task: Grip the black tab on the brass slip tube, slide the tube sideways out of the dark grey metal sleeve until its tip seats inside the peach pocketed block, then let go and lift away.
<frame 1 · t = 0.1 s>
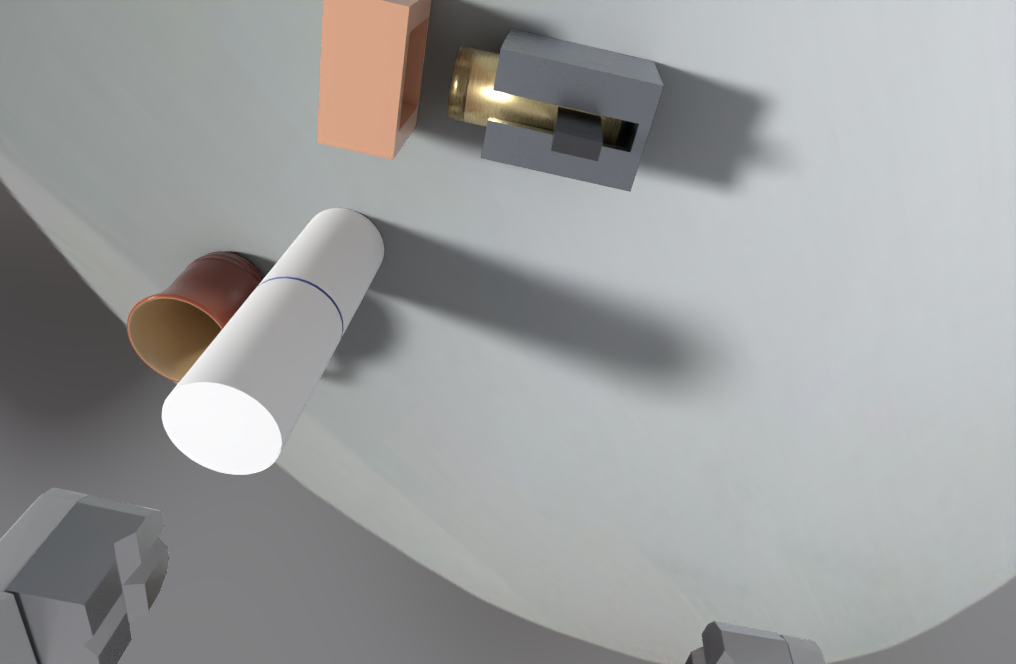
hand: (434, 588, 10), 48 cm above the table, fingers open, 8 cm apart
sleeve: (565, 94, 53), on the table
cylindrical container: (345, 244, 62), on the table
slip tube: (534, 112, 47), point 7 cm above the table, slide at 0.0 cm
mug: (237, 295, 66), on the table
peach pocketed block: (389, 54, 52), on the table
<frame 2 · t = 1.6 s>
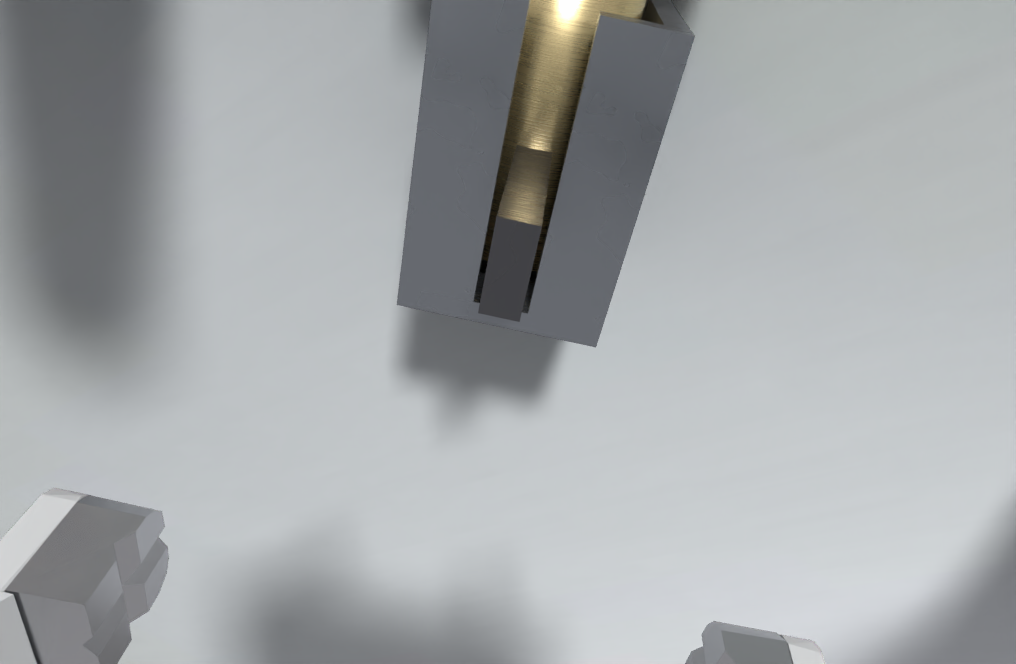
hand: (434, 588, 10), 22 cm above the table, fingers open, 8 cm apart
sleeve: (542, 112, 28), on the table
slip tube: (543, 106, 21), point 7 cm above the table, slide at 0.0 cm
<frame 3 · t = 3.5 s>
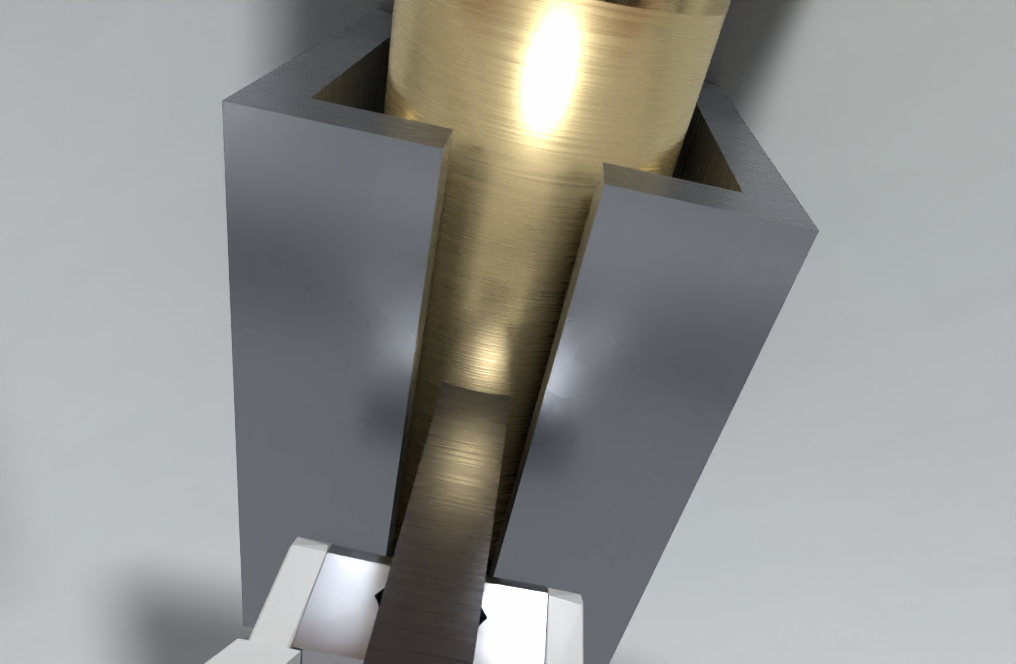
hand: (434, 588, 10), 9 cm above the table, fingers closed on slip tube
sleeve: (505, 255, 17), on the table
slip tube: (489, 332, 11), point 7 cm above the table, slide at 0.0 cm, touching gripper
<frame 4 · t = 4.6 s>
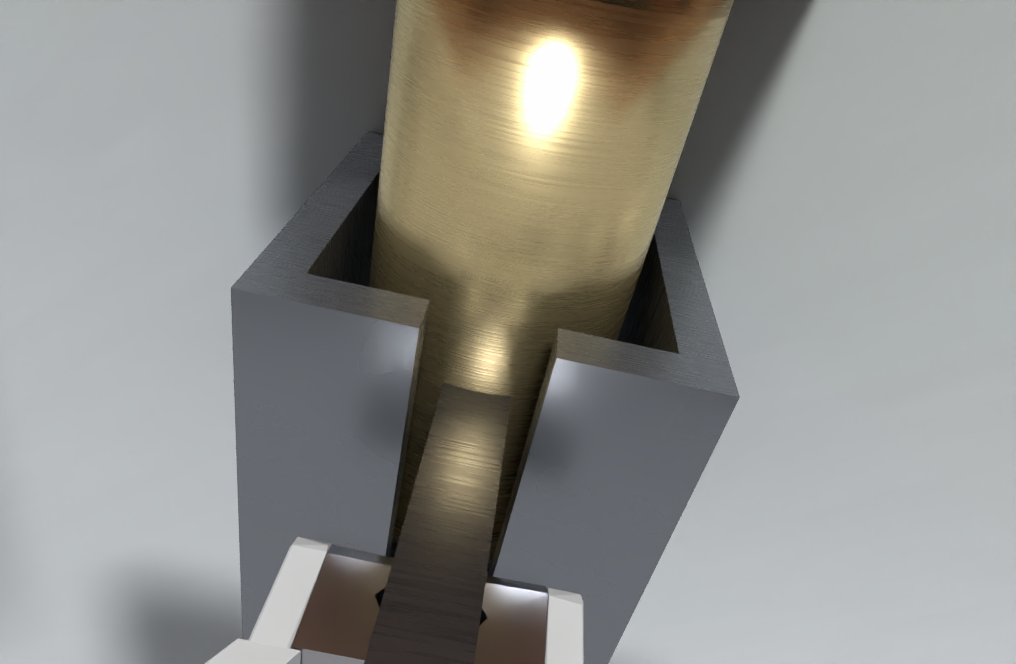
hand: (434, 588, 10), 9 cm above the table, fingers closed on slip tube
sleeve: (487, 340, 19), on the table
slip tube: (489, 333, 11), point 7 cm above the table, slide at 2.7 cm, touching gripper
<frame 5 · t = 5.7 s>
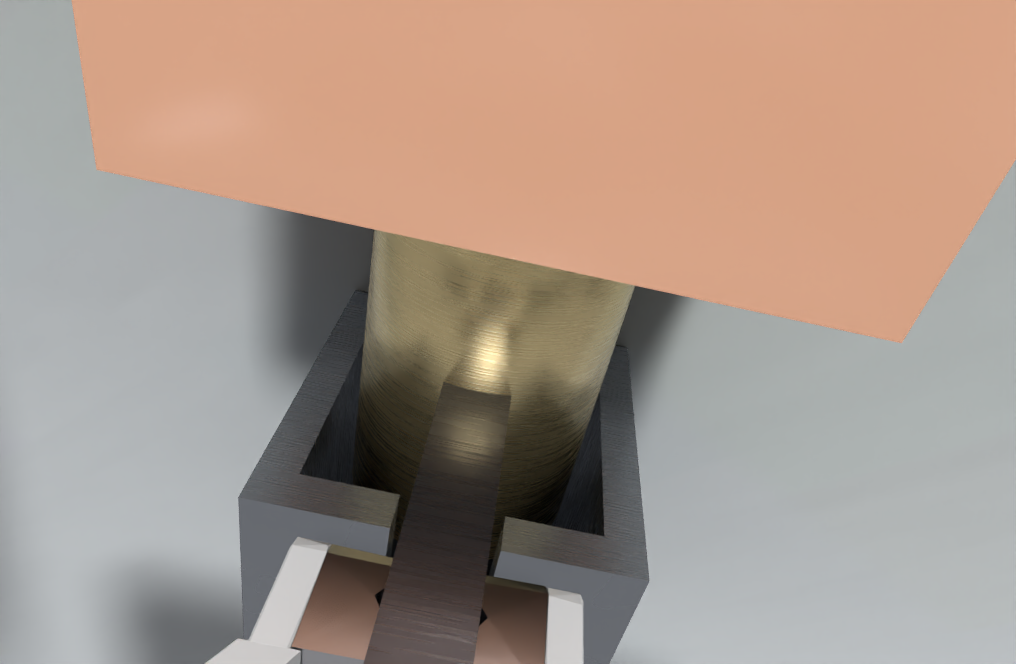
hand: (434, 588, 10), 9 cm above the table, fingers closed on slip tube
sleeve: (463, 454, 21), on the table
slip tube: (489, 332, 11), point 7 cm above the table, slide at 7.0 cm, touching gripper
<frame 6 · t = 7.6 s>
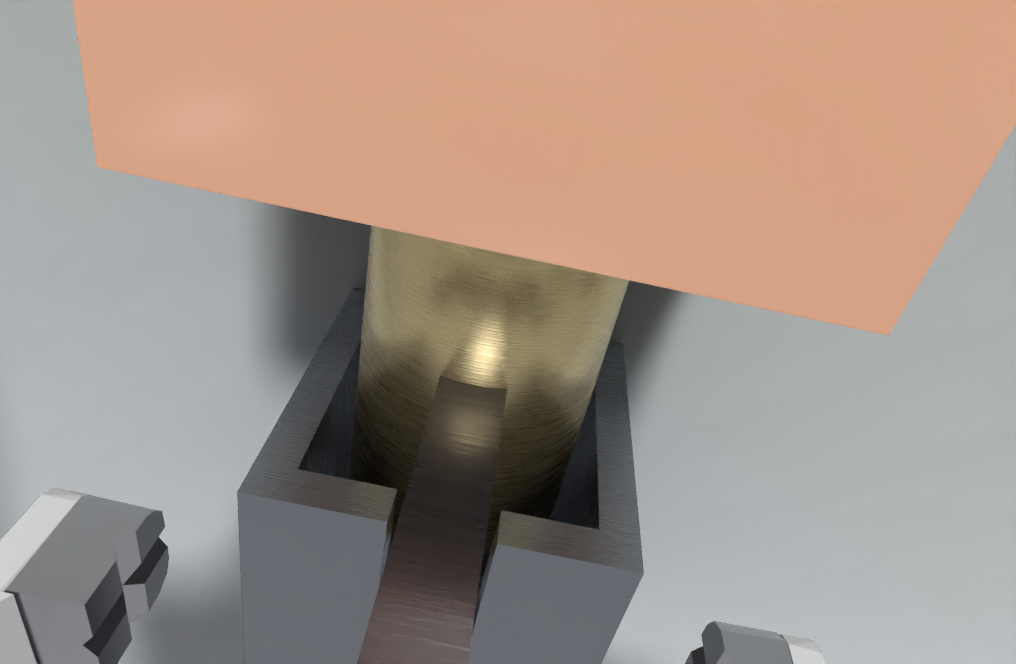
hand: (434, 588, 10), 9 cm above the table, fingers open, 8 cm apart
sleeve: (460, 450, 21), on the table
slip tube: (485, 326, 11), point 7 cm above the table, slide at 7.0 cm
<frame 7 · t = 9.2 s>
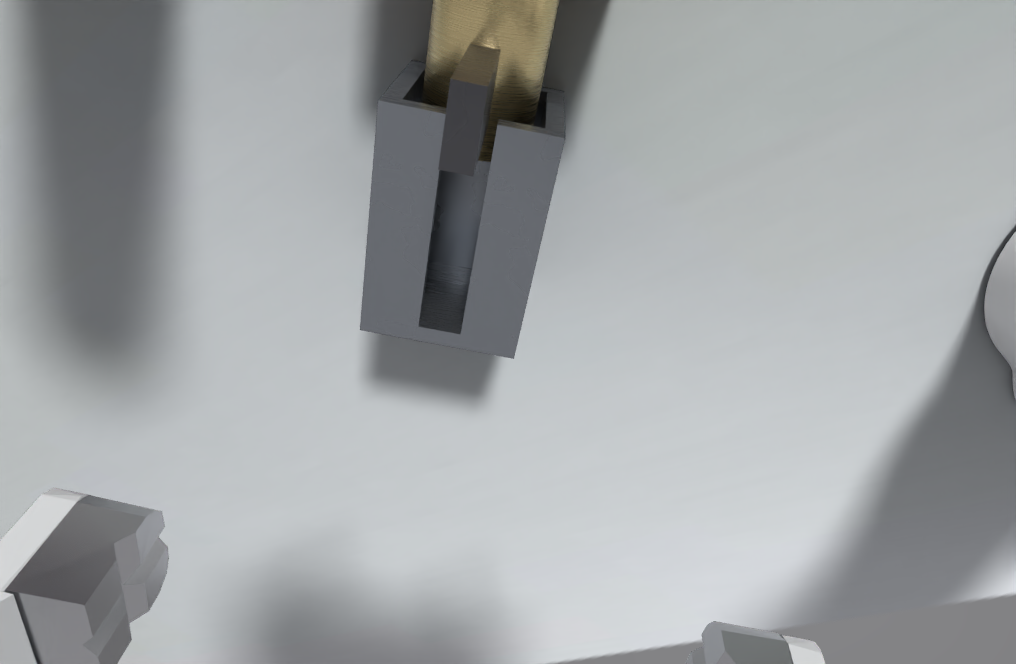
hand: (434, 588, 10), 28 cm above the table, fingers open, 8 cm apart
sleeve: (472, 174, 36), on the table
slip tube: (491, 6, 25), point 7 cm above the table, slide at 7.0 cm
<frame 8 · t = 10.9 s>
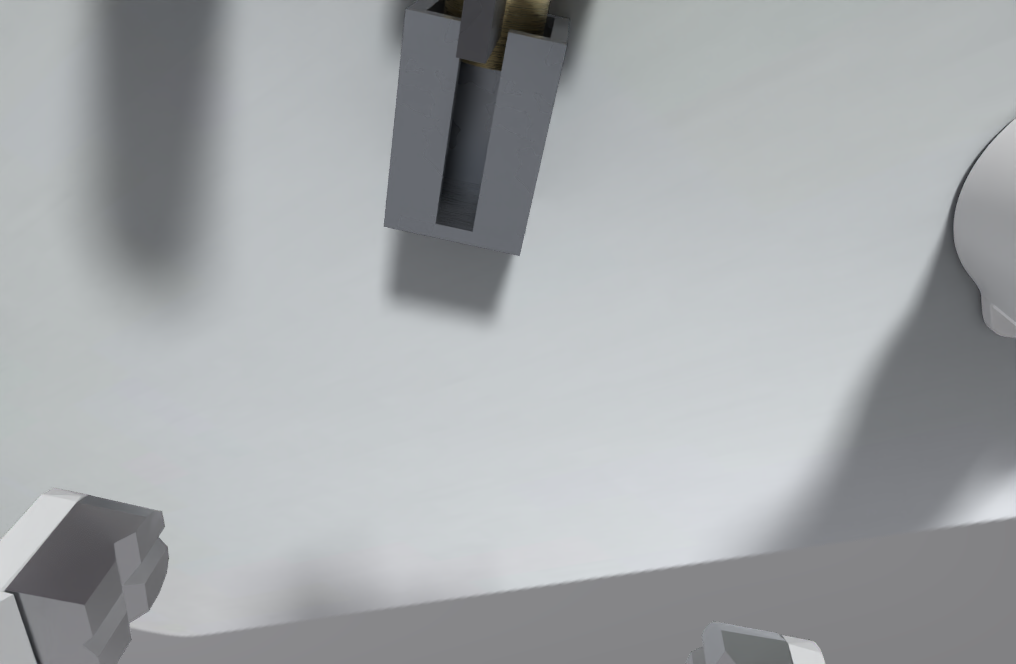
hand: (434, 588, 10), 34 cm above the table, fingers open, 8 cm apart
sleeve: (486, 97, 40), on the table
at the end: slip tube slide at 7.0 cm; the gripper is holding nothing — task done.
